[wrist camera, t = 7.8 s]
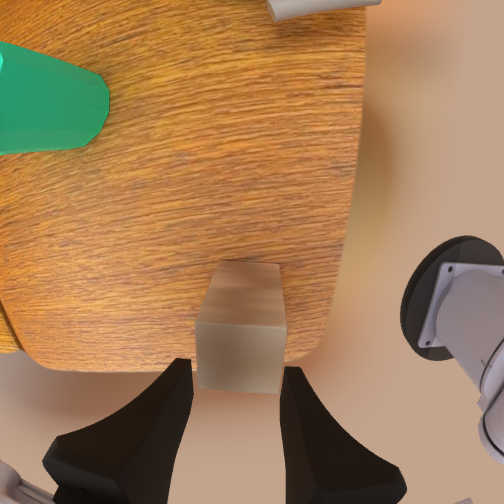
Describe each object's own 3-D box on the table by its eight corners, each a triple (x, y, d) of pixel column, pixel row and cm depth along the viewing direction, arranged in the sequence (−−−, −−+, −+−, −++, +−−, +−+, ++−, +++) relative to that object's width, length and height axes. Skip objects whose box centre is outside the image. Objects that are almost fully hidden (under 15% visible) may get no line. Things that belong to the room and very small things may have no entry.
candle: (119, 70, 17) (-4, 18, 5) (100, 154, 18) (-38, 171, 7) (56, 71, 16) (-64, 44, 5) (40, 146, 18) (-86, 162, 7)
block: (279, 263, 20) (287, 327, 13) (274, 316, 22) (278, 394, 14) (218, 259, 20) (194, 321, 13) (218, 312, 22) (197, 388, 14)
